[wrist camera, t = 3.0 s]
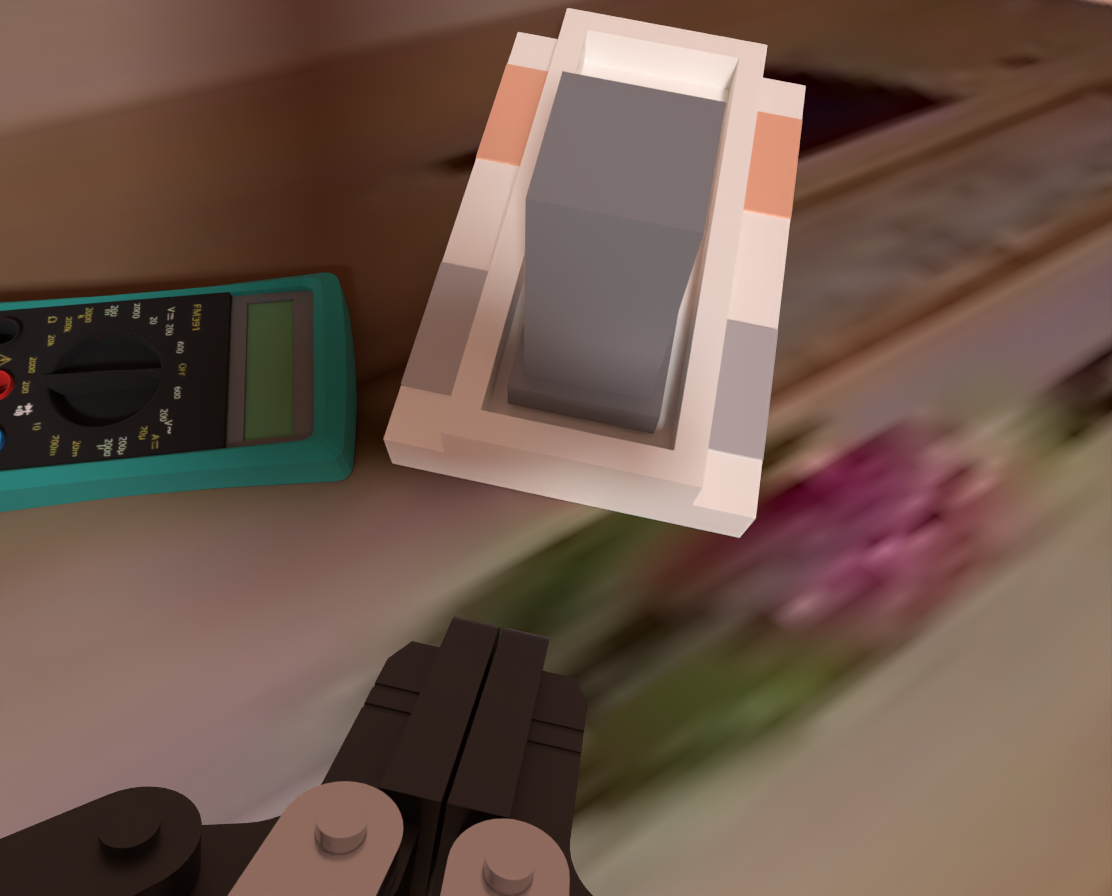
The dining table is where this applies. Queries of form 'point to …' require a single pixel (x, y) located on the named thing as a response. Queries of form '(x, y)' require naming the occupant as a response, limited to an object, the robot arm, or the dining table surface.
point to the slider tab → (611, 247)
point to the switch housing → (703, 319)
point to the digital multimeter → (176, 391)
